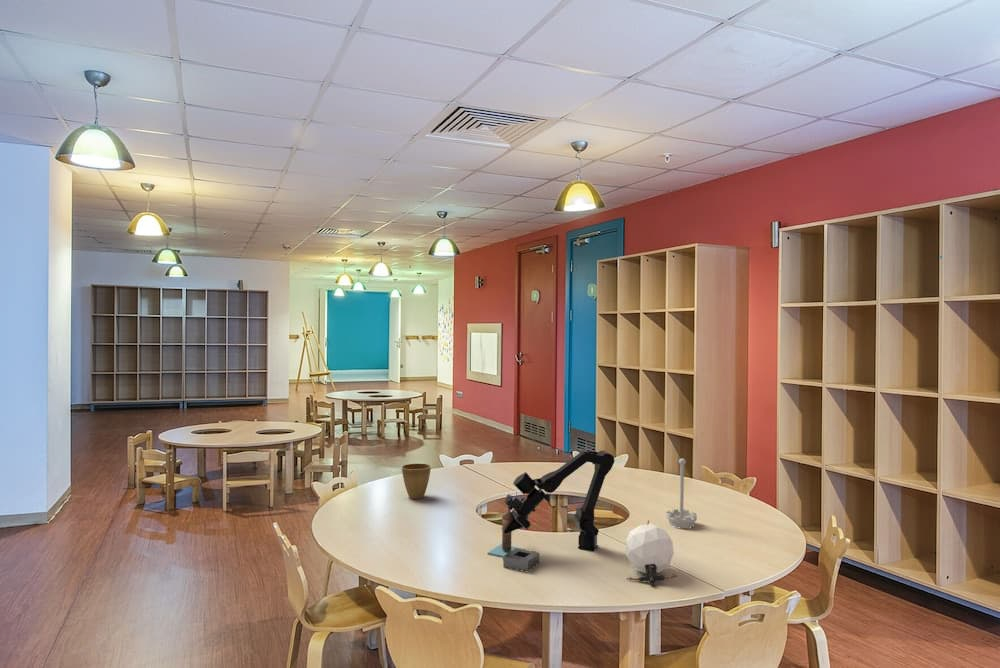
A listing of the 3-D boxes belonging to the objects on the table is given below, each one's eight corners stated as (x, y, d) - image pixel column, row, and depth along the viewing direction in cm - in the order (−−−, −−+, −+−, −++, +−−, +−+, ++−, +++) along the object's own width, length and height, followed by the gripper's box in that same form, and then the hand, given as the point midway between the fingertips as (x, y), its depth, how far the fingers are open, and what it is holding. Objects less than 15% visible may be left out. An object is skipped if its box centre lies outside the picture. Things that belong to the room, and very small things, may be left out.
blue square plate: (525, 550, 255) (525, 549, 255) (512, 559, 245) (512, 557, 245) (500, 545, 260) (500, 544, 260) (487, 554, 250) (487, 552, 250)
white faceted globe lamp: (674, 544, 244) (666, 499, 233) (681, 601, 223) (673, 554, 212) (628, 547, 248) (618, 503, 237) (630, 603, 227) (620, 557, 216)
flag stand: (697, 530, 282) (699, 462, 281) (667, 528, 284) (668, 460, 284) (695, 521, 295) (696, 456, 294) (665, 519, 297) (666, 454, 297)
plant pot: (434, 494, 336) (435, 464, 335) (424, 502, 321) (424, 470, 321) (408, 492, 339) (408, 462, 339) (396, 499, 325) (396, 468, 325)
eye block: (539, 563, 241) (539, 552, 241) (527, 572, 233) (527, 561, 233) (515, 558, 246) (515, 547, 246) (503, 566, 237) (503, 556, 237)
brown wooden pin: (513, 549, 252) (513, 512, 252) (505, 551, 250) (506, 514, 250) (507, 546, 255) (507, 510, 255) (499, 548, 253) (500, 511, 253)
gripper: (512, 482, 262) (485, 510, 260) (522, 494, 244) (493, 524, 242) (530, 500, 264) (504, 528, 262) (542, 514, 245) (513, 544, 243)
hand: (503, 531), depth 252 cm, fingers closed on brown wooden pin, 4 cm apart
